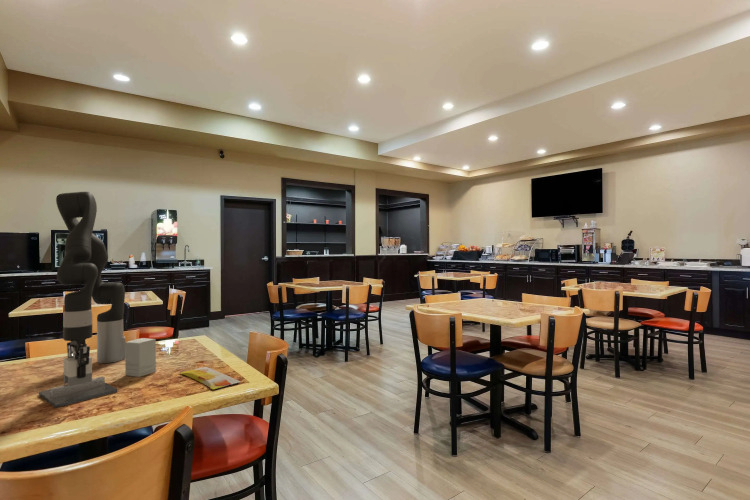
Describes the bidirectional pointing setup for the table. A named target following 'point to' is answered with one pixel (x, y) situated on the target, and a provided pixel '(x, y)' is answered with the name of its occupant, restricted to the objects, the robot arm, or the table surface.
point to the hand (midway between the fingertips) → (78, 375)
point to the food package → (210, 377)
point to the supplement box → (140, 357)
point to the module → (71, 372)
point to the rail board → (77, 392)
